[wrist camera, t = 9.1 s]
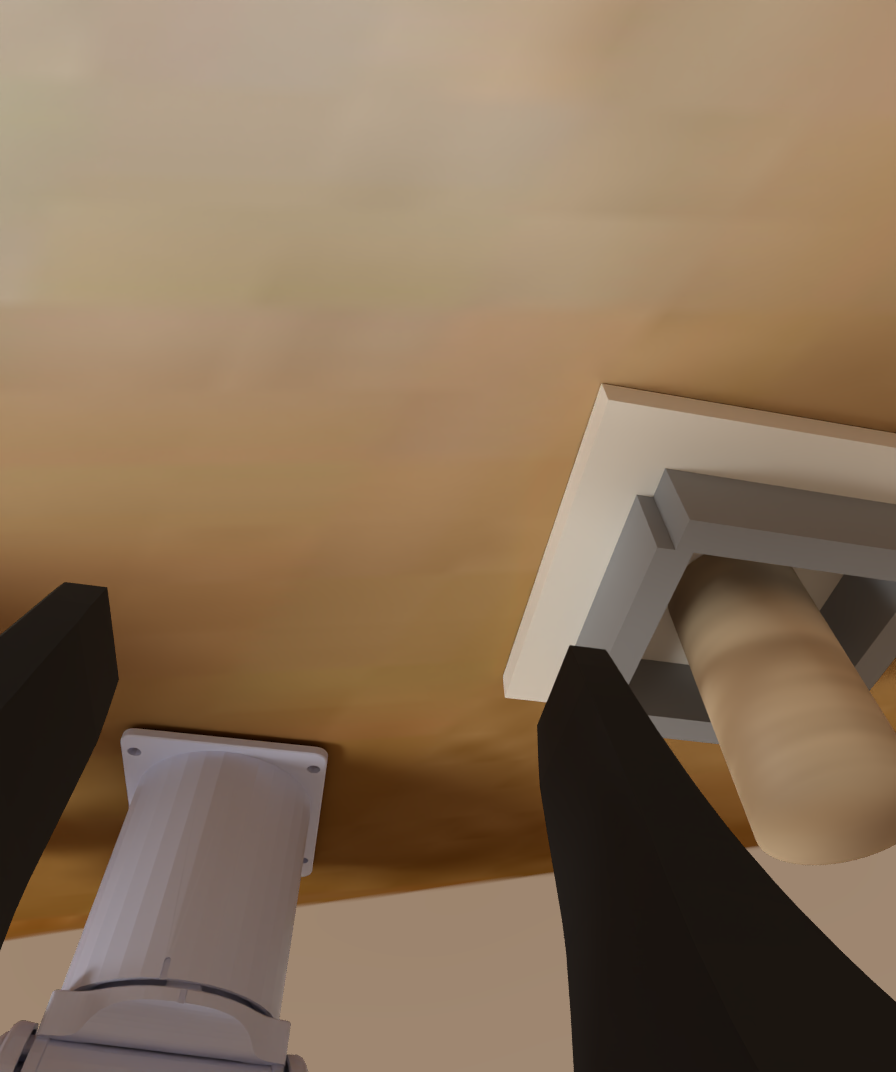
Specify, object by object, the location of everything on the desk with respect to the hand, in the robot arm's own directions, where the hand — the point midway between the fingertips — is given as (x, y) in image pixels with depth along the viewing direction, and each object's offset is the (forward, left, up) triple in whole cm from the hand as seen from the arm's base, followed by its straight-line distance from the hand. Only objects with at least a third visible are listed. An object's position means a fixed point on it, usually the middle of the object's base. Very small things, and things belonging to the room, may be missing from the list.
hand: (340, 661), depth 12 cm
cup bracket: (-5, -12, -10) cm, 17 cm away
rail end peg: (-5, -12, -9) cm, 16 cm away
